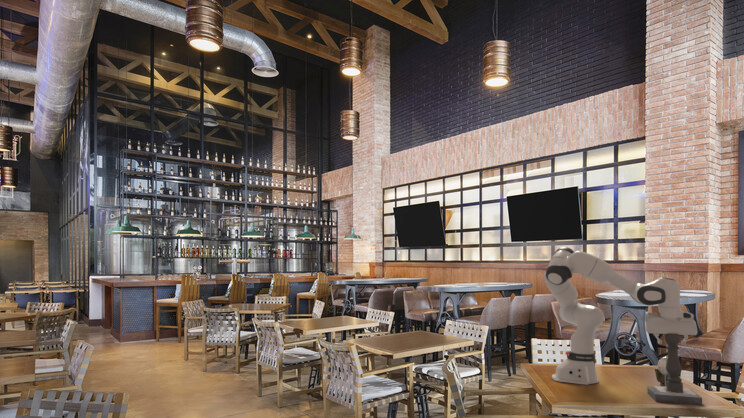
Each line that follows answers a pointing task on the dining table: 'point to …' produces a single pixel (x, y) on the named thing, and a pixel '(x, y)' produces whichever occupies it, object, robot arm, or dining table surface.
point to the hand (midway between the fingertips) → (671, 344)
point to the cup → (660, 377)
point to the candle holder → (673, 363)
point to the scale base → (671, 398)
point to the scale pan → (663, 391)
